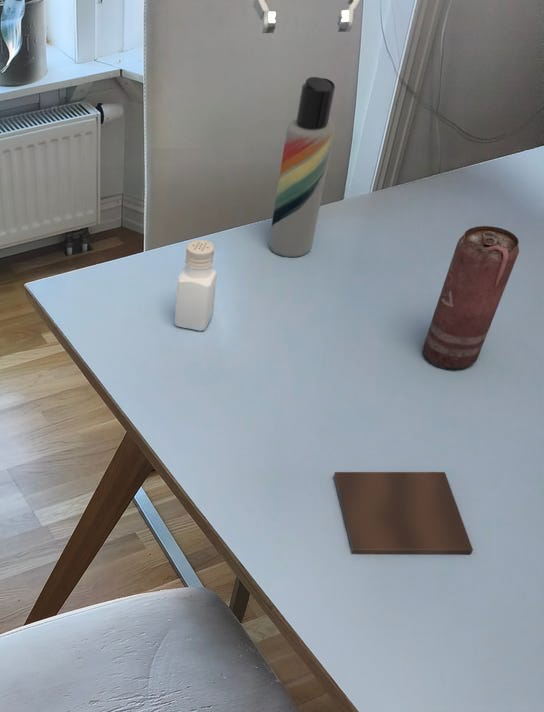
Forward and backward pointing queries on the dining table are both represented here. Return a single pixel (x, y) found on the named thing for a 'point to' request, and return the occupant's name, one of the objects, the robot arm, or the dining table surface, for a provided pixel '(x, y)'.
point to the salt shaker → (196, 287)
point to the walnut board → (401, 513)
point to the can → (470, 296)
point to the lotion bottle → (303, 170)
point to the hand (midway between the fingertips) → (306, 30)
